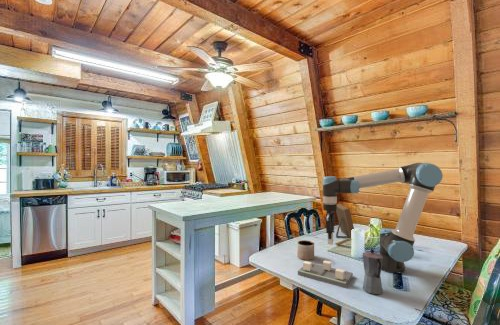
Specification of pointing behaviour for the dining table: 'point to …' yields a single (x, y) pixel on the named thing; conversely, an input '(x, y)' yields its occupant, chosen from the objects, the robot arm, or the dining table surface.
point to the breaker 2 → (339, 274)
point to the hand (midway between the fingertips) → (330, 244)
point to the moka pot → (372, 272)
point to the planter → (305, 250)
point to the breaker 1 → (307, 266)
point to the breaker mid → (326, 265)
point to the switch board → (326, 275)
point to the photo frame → (344, 220)
